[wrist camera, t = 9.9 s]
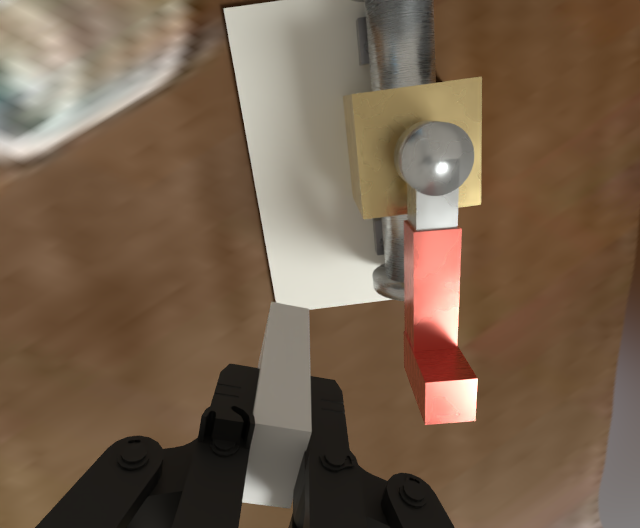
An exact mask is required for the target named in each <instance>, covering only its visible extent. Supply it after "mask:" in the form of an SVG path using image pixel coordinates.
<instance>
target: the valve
mask: <svg viewBox="0 0 640 528" xmlns="http://www.w3.org/2000/svg"><path fill="white" fill-rule="evenodd" d="M351 1H355V2H365V12H366V17H361V18H357V20H356V31H357V43H358V55H359V66H361V65H368V64H370V77H371V90H372V91H371V92H364V93H356V94H350V95H346V96H343V104H344V114H345V124H346V134H347V144H348V154H349V164H350V174H351V184H352V194H353V198H354V201H355V203H356V205H357V207H358V209H359V211H360V213H361V216H362V218H363V220H364V219H373V231H374V243H375V251H376V253H377V255H384V258H385V263H384V264H382V265H380V266H379V267H377V268H376V269H375V270H374V271H373V274H372V277H373V287H374V290H375V291H376V292H377V293H378V294H380V295H381V296H384V297H386V298H389V299H394V300H400V301H405V300H404V220H407V183H406V182H405V181H404V180H403V179H402V178H401V177H400V176H399V174H398V172H397V171H396V168H395V164H394V150H395V146H396V143H397V141H398V139H399V138H400V136H401V135H402V133H403V132H404V131H405V130H406V129H408V128H409V127H410V126H412V125H413V124H415V123H418V122H421V121H426V120H433V121H440V122H448V123H452V124H454V125H457V126H459V127H460V128H462V129H463V130H464V131H465V132H466V133H467V134H468V136H469V137H470V139H471V141H472V144H473V147H474V163H473V167H472V170H471V172H470V174H469V176H468V178H467V179H466V180H465V182H464V183H463V184H462V185H461V186H460V187H459V198H458V207H466V206H474V205H481V129H482V77H475V78H468V79H460V80H453V81H446V82H438V83H436V75H435V40H434V5H433V0H351Z"/></svg>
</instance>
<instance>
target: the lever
mask: <svg viewBox="0 0 640 528" xmlns="http://www.w3.org/2000/svg"><path fill="white" fill-rule="evenodd" d="M473 163H474V147H473V144H472V141H471V139H470V137H469V136H468V134H467V133H466V132H465V131H464V130H463V129H462V128H460V127H459V126H457V125H454V124H452V123H448V122H440V121H433V120H426V121H421V122H418V123H415V124H413V125H412V126H410V127H409V128H408V129H406V130H405V131H404V132H403V133H402V135H401V136H400V138H399V139H398V141H397V143H396V146H395V150H394V164H395V168H396V171H397V172H398V174H399V176H400V177H401V178H402V179H403V180H404V181H405V182H406V183H407V220H404V300H405V331H404V368H405V371H406V373H407V376H408V379H409V382H410V385H411V387H412V390H413V393H414V396H415V398H416V401H417V404H418V407H419V409H420V412H421V415H422V418H423V421H424V423H425V425H429V424H441V423H454V422H466V421H475V415H476V398H477V382H478V378H477V377H476V375H475V373H474V372H473V370H472V369H471V367H470V365H469V364H468V362H467V360H466V359H465V357H464V356H463V354H462V352H461V351H460V349H459V347H458V346H457V337H458V311H459V285H460V260H461V234H462V228H460V227H459V226H458V198H459V187H460V186H461V185H462V184H463V183H464V182H465V180H466V179H467V178H468V176H469V174H470V172H471V170H472V167H473Z"/></svg>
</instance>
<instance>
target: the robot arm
mask: <svg viewBox="0 0 640 528" xmlns="http://www.w3.org/2000/svg"><path fill="white" fill-rule="evenodd" d="M344 413H345V410H344V405H343V395H342V390H341V389H340V387H339V386H338V384H337V383H336V381H335V380H331V379H325V378H319V377H313V376H310V331H309V309H308V308H302V307H297V306H292V305H286V304H281V303H276V302H271V306H270V311H269V315H268V320H267V325H266V330H265V335H264V340H263V344H262V349H261V354H260V359H259V364H258V368H253V367H247V366H241V365H235V364H229V365H228V366H227V367H226V368H225V369H223V370H222V371H221V373H220V376H219V379H218V383H217V386H216V389H215V393H214V396H213V399H212V403H211V406H210V407H208V408H207V409H206V410H205V411H204V413H203V415H202V417H201V423H200V430H199V436H198V438H197V439H195V440H194V441H192V442H191V443H189V444H186V445H184V446H180V447H175V448H167V449H162V447H161V446H160V445H159V443H158V442H157V441H155V440H153V439H151V438H149V437H144V436H132V437H126V438H124V439H121V440H118V441H116V442H115V443H114V444H112V445H111V446H110V447H109V448H108V449H107V450H106V451H105V452H104V453H103V454H102V455H101V456H100V457H99V458H98V459H97V461H96V462H95V463H94V464H93V465H92V466H91V467H90V468H89V469H88V470H87V471H86V473H85V474H84V475H83V476H82V477H81V478H80V479H79V480H78V481H77V482H76V484H75V485H74V486H73V487H72V488H71V489H70V490H69V491H68V492H67V493H66V494H65V496H64V497H63V498H62V499H61V500H60V501H59V502H58V503H57V504H56V505H55V506H54V508H53V509H52V510H51V511H50V512H49V513H48V514H47V515H46V516H45V517H44V518H43V520H42V521H41V522H40V523H39V524H38V525H37V526H36V527H35V528H238V526H239V519H240V512H241V506H242V502H245V503H252V504H260V505H268V506H275V507H283V508H290V507H291V504H292V500H293V514H292V518H291V521H290V525H289V528H454V526H453V524H452V522H451V521H450V519H449V517H448V515H447V513H446V512H445V510H444V508H443V506H442V505H441V503H440V501H439V499H438V498H437V496H436V494H435V492H434V491H433V490H432V489H431V487H430V486H429V485H428V484H427V483H426V482H424V481H423V480H422V479H421V478H419V477H416V476H414V475H412V474H407V473H399V474H395V475H393V476H392V477H391V478H390V479H389V480H388V481H386V480H384V479H381V478H379V477H377V476H374V475H372V474H370V473H368V472H367V471H365V470H364V469H362V468H361V467H360V466H359V465H358V463H357V460H356V457H355V456H354V455H353V454H352V452H351V451H350V449H349V442H348V434H347V426H346V418H345V414H344Z"/></svg>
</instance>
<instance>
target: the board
mask: <svg viewBox="0 0 640 528" xmlns="http://www.w3.org/2000/svg"><path fill="white" fill-rule="evenodd" d="M223 9H224V15H225V20H226V26H227V31H228V37H229V43H230V48H231V54H232V59H233V65H234V71H235V76H236V82H237V87H238V93H239V99H240V104H241V110H242V115H243V121H244V127H245V132H246V138H247V143H248V149H249V154H250V160H251V166H252V171H253V177H254V182H255V188H256V194H257V199H258V205H259V210H260V216H261V222H262V227H263V233H264V238H265V244H266V249H267V255H268V261H269V266H270V272H271V277H272V283H273V289H274V294H275V300H276V303H281V304H286V305H292V306H297V307H302V308H308V309H309V310H310V309H319V308H327V307H335V306H343V305H351V304H359V303H367V302H375V301H383V300H391V299H389V298H386V297H384V296H381V295H380V294H378V293H377V292H376V291H375V290H374V287H373V277H372V274H373V271H374V270H375V269H376V268H377V267H379V266H380V265H382V264H384V263H385V258H384V255H377V253H376V251H375V243H374V231H373V219H364V220H363V218H362V216H361V213H360V211H359V209H358V207H357V205H356V203H355V201H354V198H353V194H352V184H351V174H350V164H349V154H348V144H347V134H346V124H345V114H344V104H343V96H346V95H350V94H356V93H364V92H371V91H372V90H371V77H370V64H368V65H361V66H359V55H358V43H357V31H356V20H357V18H361V17H366V12H365V2H355V1H351V0H280V1H273V2H266V3H259V4H252V5H244V6H237V7H230V8H223Z"/></svg>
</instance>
